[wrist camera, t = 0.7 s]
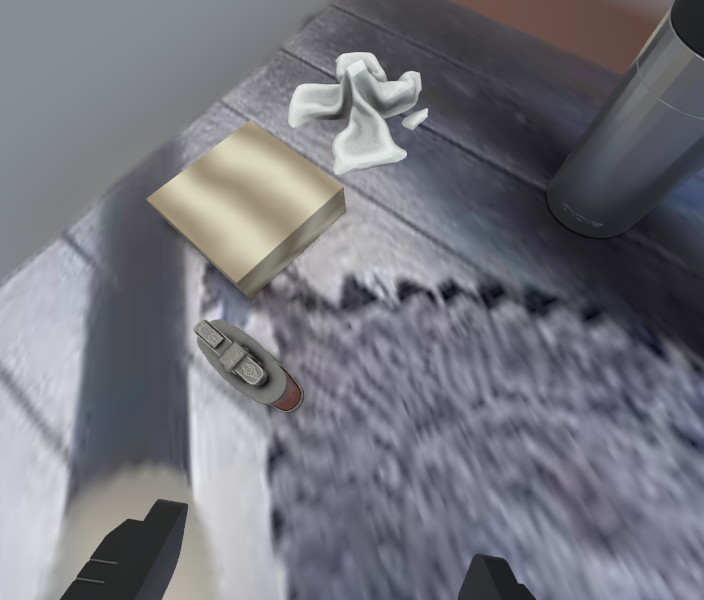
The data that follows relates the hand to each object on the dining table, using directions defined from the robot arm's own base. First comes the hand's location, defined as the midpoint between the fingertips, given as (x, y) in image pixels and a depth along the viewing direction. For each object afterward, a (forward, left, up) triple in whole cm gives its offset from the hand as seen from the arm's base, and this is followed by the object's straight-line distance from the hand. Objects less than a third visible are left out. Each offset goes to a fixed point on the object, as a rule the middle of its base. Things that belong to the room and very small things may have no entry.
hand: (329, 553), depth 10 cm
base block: (-12, -26, -21) cm, 35 cm away
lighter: (-1, -12, -21) cm, 24 cm away
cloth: (-33, -28, -22) cm, 48 cm away
